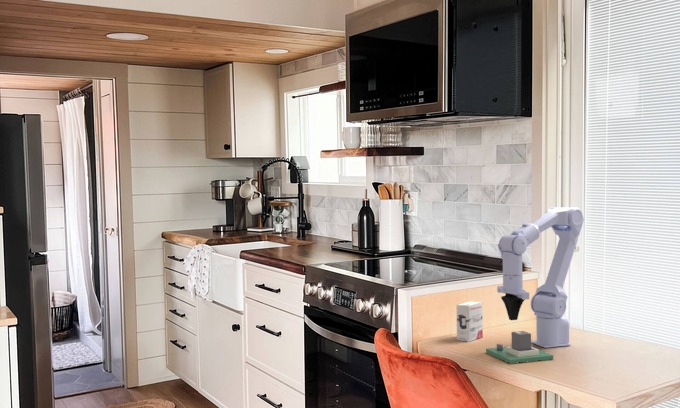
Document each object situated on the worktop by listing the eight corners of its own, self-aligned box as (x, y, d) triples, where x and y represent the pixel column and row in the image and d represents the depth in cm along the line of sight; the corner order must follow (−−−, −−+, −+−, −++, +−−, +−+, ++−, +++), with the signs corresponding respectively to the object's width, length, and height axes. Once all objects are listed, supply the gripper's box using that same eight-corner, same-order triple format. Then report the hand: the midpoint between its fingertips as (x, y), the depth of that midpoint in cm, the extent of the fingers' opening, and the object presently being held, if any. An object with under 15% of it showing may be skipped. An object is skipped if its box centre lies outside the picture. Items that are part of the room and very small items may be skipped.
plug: (523, 351, 203) (523, 329, 203) (531, 354, 199) (531, 332, 199) (511, 352, 202) (511, 330, 202) (519, 355, 198) (518, 333, 198)
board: (526, 348, 211) (526, 339, 211) (553, 359, 198) (553, 349, 198) (486, 352, 207) (485, 343, 207) (510, 364, 194) (510, 354, 194)
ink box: (470, 335, 230) (470, 300, 230) (483, 337, 227) (483, 302, 227) (456, 340, 224) (455, 304, 224) (469, 342, 221) (469, 305, 220)
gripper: (488, 272, 212) (489, 316, 212) (514, 278, 198) (514, 325, 199) (508, 271, 214) (509, 314, 215) (535, 277, 200) (535, 323, 201)
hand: (513, 319), depth 207 cm, fingers closed
